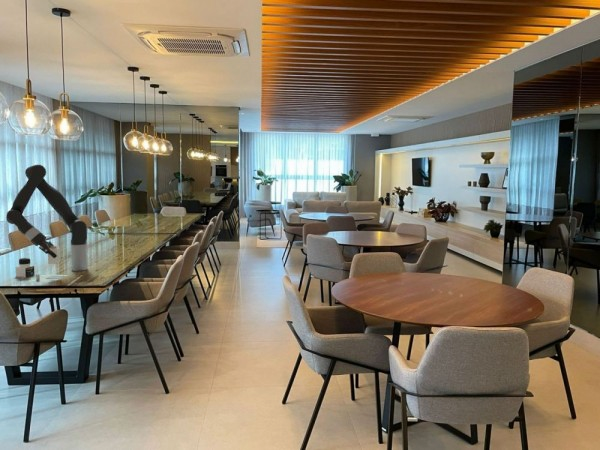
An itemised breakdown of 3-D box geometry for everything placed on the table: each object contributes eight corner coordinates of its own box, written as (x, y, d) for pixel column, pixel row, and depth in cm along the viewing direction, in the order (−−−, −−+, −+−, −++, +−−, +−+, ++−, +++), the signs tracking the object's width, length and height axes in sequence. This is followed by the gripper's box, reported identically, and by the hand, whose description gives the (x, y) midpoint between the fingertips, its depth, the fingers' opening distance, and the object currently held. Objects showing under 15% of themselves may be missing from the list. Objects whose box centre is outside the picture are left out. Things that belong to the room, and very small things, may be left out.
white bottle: (48, 263, 276) (47, 247, 275) (51, 262, 281) (50, 245, 280) (57, 263, 277) (57, 247, 276) (60, 262, 282) (60, 245, 281)
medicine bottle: (25, 279, 279) (25, 259, 278) (15, 278, 281) (14, 259, 279) (34, 276, 286) (34, 257, 285) (25, 275, 288) (24, 256, 286)
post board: (44, 276, 287) (44, 268, 287) (68, 276, 287) (68, 269, 287) (26, 283, 269) (26, 275, 268) (52, 284, 268) (51, 276, 268)
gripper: (35, 233, 269) (57, 254, 272) (44, 230, 283) (66, 249, 286) (25, 242, 269) (48, 262, 272) (35, 239, 283) (57, 258, 286)
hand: (57, 256), depth 279 cm, fingers closed on white bottle, 5 cm apart
